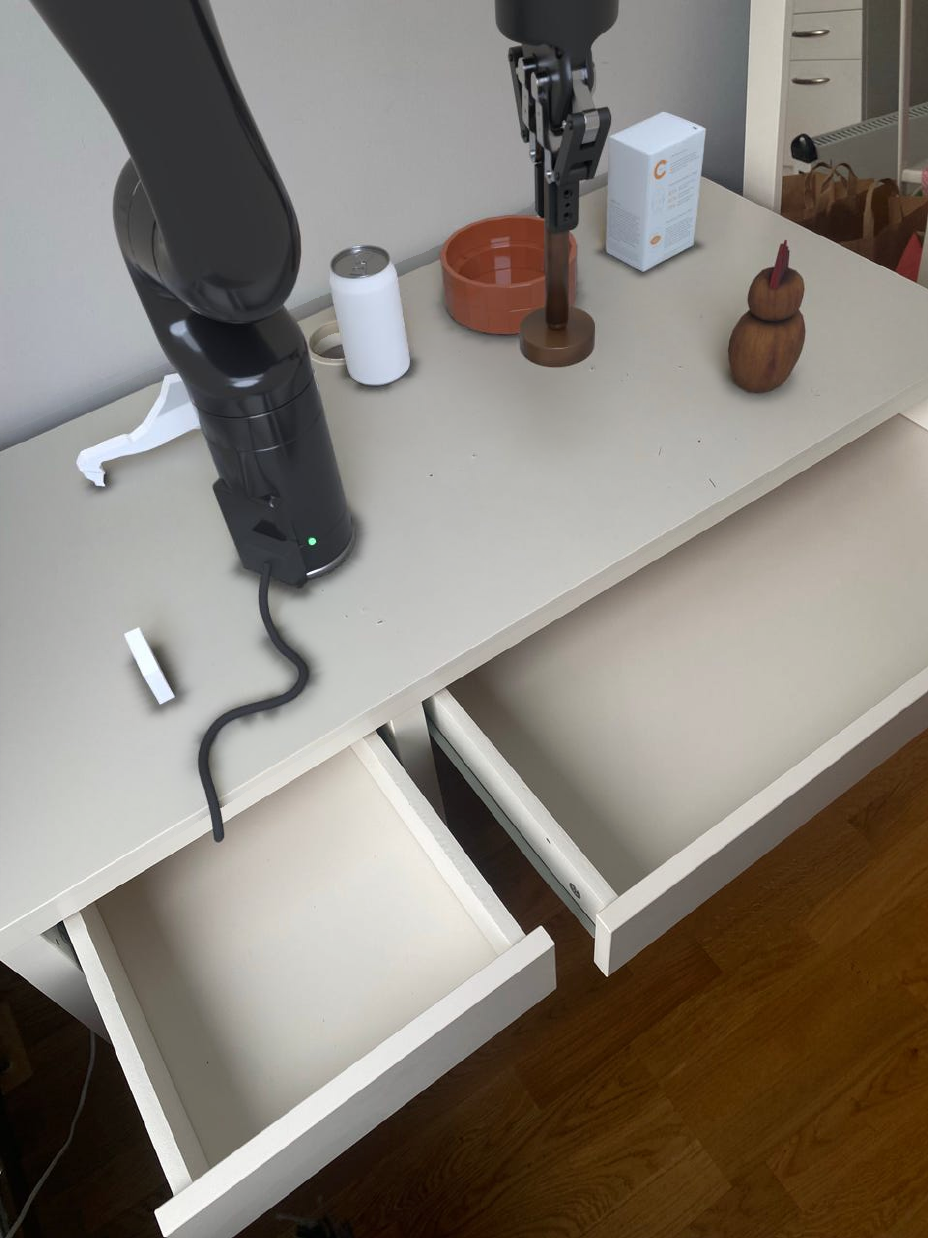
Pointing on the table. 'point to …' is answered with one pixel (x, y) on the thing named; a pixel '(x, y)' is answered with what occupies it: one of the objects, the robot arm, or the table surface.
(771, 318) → the wooden figurine
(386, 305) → the can
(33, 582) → the table surface
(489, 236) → the bowl
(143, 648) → the eraser
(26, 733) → the table surface
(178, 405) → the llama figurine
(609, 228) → the small box
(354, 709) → the table surface
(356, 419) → the table surface
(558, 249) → the brown post on disc
